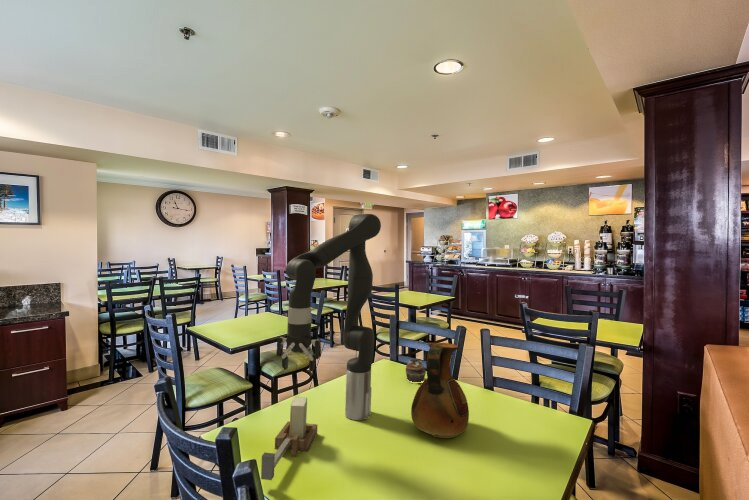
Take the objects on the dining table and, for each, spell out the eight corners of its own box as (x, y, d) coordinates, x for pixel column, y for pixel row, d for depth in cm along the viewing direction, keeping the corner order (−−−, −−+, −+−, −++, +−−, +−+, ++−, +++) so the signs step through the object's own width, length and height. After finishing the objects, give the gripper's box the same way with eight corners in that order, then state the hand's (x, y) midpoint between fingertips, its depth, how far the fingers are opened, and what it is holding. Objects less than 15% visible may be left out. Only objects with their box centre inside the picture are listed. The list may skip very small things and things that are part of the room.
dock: (317, 433, 117) (317, 418, 117) (303, 457, 104) (304, 440, 104) (287, 430, 119) (287, 415, 119) (270, 454, 105) (271, 436, 105)
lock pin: (292, 447, 105) (292, 427, 105) (271, 480, 90) (272, 457, 90) (283, 446, 105) (284, 426, 105) (261, 479, 90) (261, 456, 90)
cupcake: (404, 383, 162) (405, 362, 162) (406, 375, 172) (406, 355, 172) (425, 385, 161) (426, 364, 161) (425, 377, 170) (426, 357, 170)
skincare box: (293, 433, 116) (294, 396, 116) (306, 433, 116) (307, 396, 116) (288, 443, 110) (289, 405, 109) (303, 444, 110) (304, 405, 109)
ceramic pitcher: (472, 423, 128) (475, 341, 127) (461, 452, 109) (465, 357, 109) (420, 411, 136) (423, 334, 135) (402, 436, 118) (405, 347, 117)
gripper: (273, 321, 111) (272, 372, 111) (317, 324, 109) (316, 376, 109) (282, 317, 118) (281, 364, 119) (324, 319, 116) (322, 367, 117)
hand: (298, 370), depth 114 cm, fingers open, 8 cm apart
